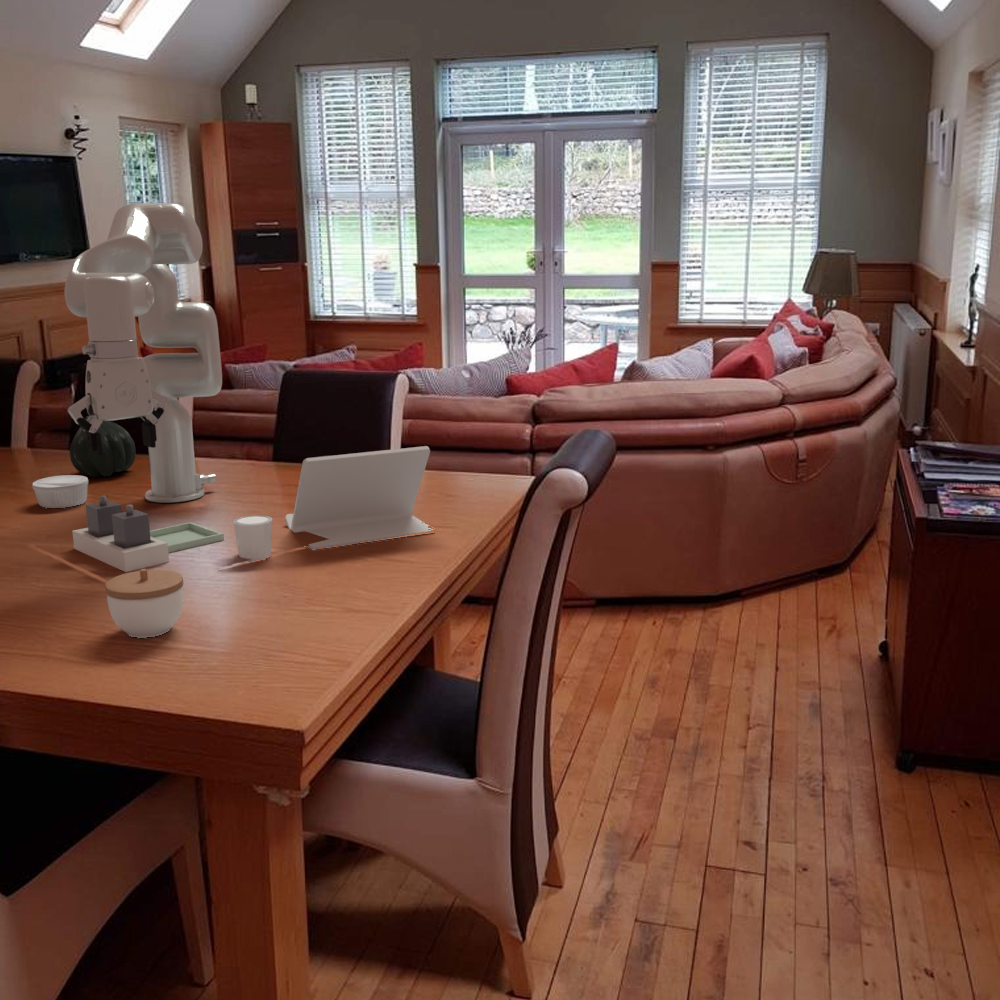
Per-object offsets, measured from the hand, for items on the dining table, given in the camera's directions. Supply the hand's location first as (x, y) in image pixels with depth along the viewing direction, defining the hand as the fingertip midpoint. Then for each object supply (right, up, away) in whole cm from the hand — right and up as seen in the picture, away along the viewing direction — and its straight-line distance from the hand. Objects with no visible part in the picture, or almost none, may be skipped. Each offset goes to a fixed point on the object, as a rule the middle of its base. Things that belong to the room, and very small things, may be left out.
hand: (123, 450), depth 179 cm
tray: (+4, -17, +17) cm, 24 cm away
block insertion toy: (-3, -19, +8) cm, 21 cm away
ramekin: (-30, -10, +47) cm, 56 cm away
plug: (0, -19, +4) cm, 19 cm away
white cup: (+21, -19, +8) cm, 29 cm away
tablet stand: (+37, -15, +25) cm, 47 cm away
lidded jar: (+13, -28, -27) cm, 41 cm away
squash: (-32, -2, +76) cm, 82 cm away
